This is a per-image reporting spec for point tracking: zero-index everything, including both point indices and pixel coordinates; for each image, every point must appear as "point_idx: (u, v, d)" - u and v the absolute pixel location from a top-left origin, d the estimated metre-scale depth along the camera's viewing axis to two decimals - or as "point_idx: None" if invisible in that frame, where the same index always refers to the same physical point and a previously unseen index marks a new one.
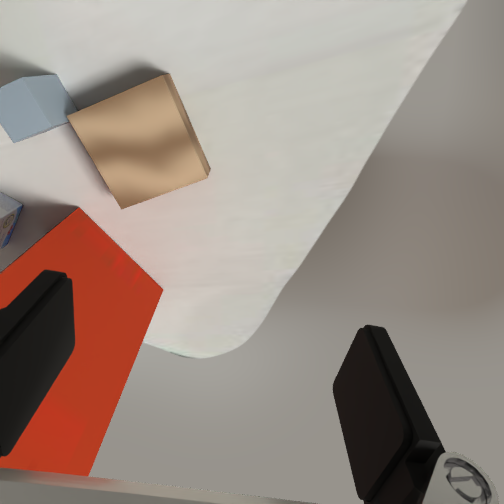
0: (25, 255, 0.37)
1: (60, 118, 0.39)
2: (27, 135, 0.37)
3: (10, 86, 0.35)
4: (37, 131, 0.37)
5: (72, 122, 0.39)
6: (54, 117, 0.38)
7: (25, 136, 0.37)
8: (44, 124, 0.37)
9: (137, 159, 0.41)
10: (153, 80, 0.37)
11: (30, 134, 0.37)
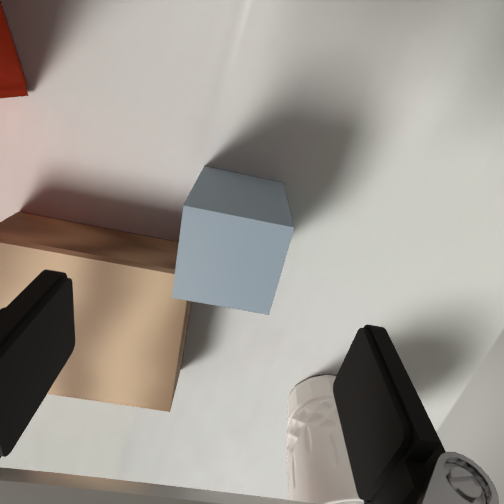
0: None
1: None
2: (181, 244, 0.16)
3: (270, 287, 0.17)
4: (178, 267, 0.17)
5: None
6: None
7: (182, 239, 0.16)
8: (182, 289, 0.17)
9: None
10: (169, 401, 0.25)
11: (180, 251, 0.16)
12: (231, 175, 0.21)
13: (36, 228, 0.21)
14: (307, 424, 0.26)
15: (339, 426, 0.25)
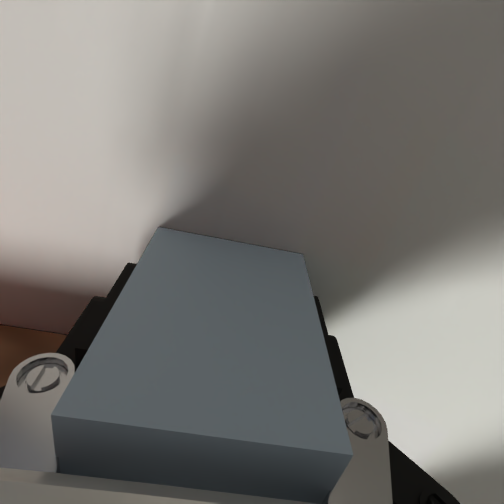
0: None
1: None
2: None
3: None
4: None
5: None
6: None
7: None
8: None
9: None
10: None
11: None
12: (208, 248, 0.11)
13: None
14: None
15: None
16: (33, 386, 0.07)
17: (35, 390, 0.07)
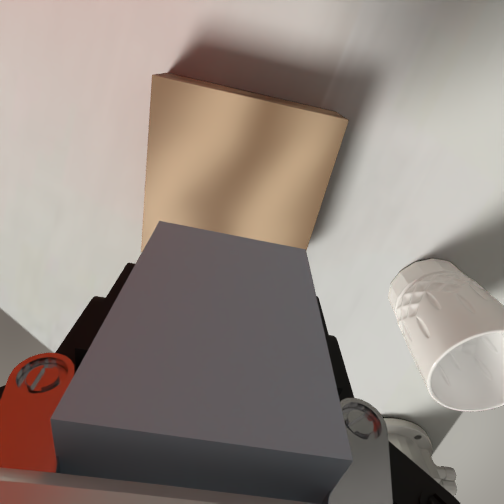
0: None
1: None
2: None
3: None
4: None
5: (335, 121, 0.21)
6: None
7: None
8: None
9: (221, 177, 0.23)
10: None
11: None
12: (209, 243, 0.11)
13: (193, 81, 0.22)
14: (427, 291, 0.27)
15: (463, 287, 0.26)
16: (33, 386, 0.07)
17: (35, 390, 0.07)
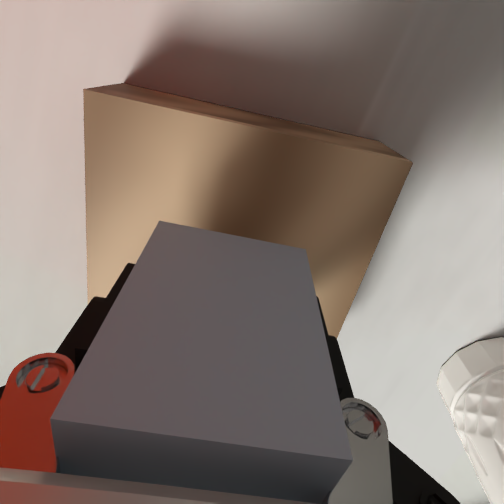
0: None
1: None
2: None
3: None
4: None
5: (390, 164, 0.13)
6: None
7: None
8: None
9: None
10: None
11: None
12: (209, 243, 0.11)
13: (160, 97, 0.14)
14: None
15: None
16: (33, 386, 0.07)
17: (35, 390, 0.07)
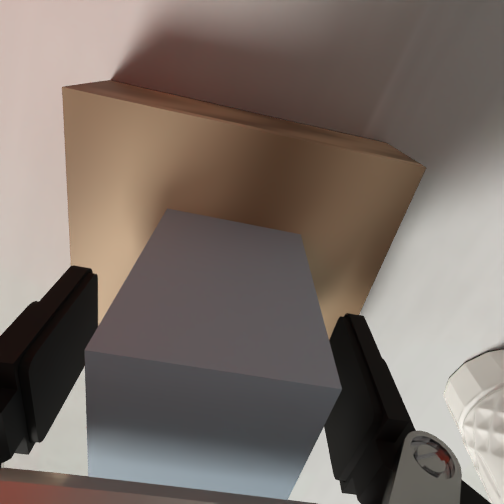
0: None
1: None
2: (94, 416, 0.07)
3: (285, 479, 0.08)
4: (93, 450, 0.08)
5: (401, 169, 0.12)
6: None
7: (93, 409, 0.07)
8: None
9: None
10: None
11: (92, 427, 0.08)
12: (213, 227, 0.12)
13: (150, 95, 0.13)
14: None
15: None
16: None
17: None
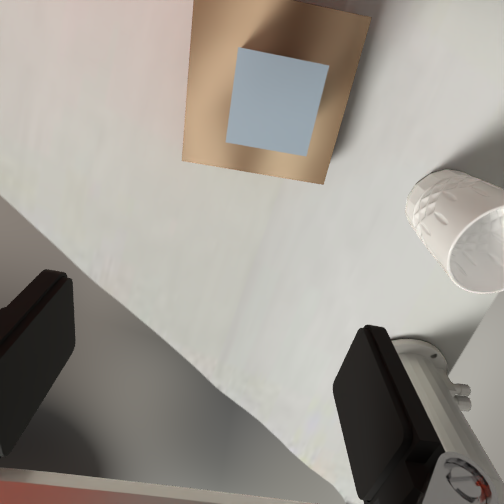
0: None
1: None
2: (235, 87, 0.19)
3: (308, 128, 0.20)
4: (232, 110, 0.20)
5: (359, 18, 0.24)
6: None
7: (236, 82, 0.19)
8: (235, 133, 0.21)
9: None
10: (325, 172, 0.29)
11: (234, 94, 0.20)
12: None
13: None
14: (443, 191, 0.29)
15: (476, 182, 0.28)
16: None
17: None
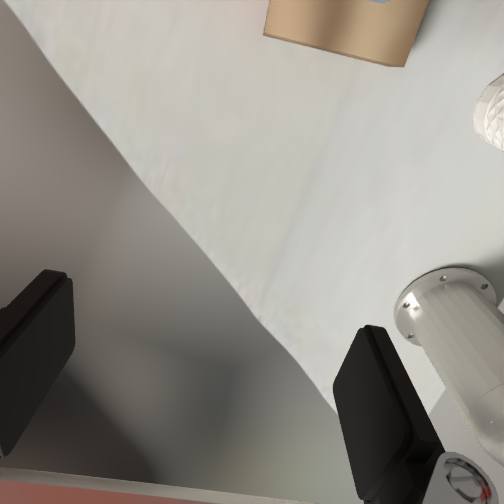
0: None
1: None
2: None
3: None
4: None
5: None
6: None
7: None
8: None
9: None
10: (407, 52, 0.28)
11: None
12: None
13: None
14: None
15: None
16: None
17: None
